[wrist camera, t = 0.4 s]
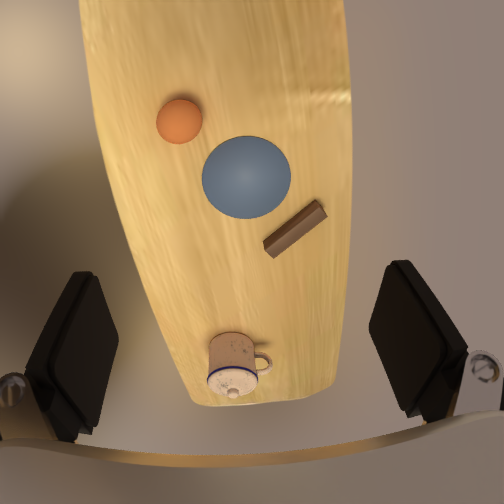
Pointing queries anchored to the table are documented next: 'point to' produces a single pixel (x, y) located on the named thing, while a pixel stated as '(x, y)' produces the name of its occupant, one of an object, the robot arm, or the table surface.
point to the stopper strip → (294, 229)
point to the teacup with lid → (234, 365)
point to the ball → (179, 121)
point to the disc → (246, 177)
